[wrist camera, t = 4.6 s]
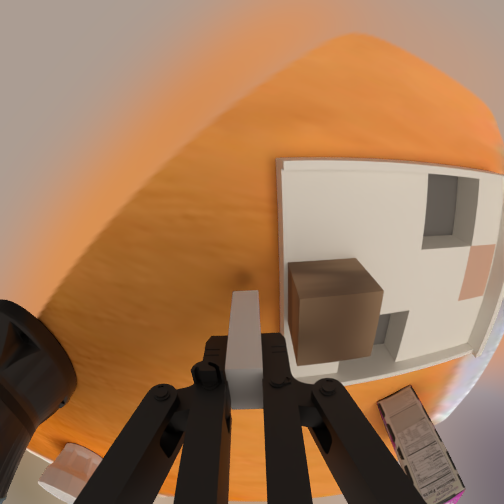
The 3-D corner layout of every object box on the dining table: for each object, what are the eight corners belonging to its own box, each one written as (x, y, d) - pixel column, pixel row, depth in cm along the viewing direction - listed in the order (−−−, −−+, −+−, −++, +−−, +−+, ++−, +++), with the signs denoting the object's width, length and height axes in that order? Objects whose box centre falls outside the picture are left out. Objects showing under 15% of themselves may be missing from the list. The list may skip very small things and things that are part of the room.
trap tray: (280, 359, 24) (285, 400, 20) (275, 157, 18) (285, 161, 14) (457, 329, 24) (480, 355, 20) (488, 170, 18) (525, 180, 14)
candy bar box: (418, 419, 30) (456, 504, 15) (388, 435, 31) (419, 523, 16) (412, 381, 27) (468, 490, 11) (375, 400, 28) (419, 517, 12)
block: (287, 322, 19) (297, 366, 15) (287, 262, 18) (299, 298, 14) (349, 316, 19) (370, 356, 15) (355, 257, 18) (384, 290, 14)
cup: (45, 433, 33) (25, 476, 22) (84, 437, 31) (64, 490, 21) (87, 468, 37) (74, 508, 27) (130, 473, 36) (119, 520, 25)
